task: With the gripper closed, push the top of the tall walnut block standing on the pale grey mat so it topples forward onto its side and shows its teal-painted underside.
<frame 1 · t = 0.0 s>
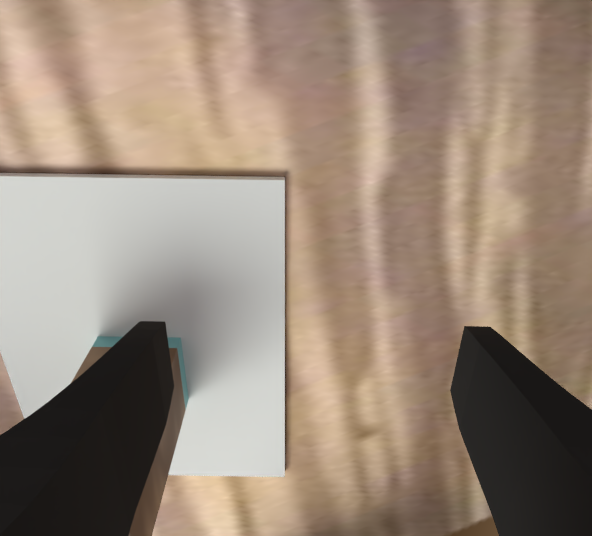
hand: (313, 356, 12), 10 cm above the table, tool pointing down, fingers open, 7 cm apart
walnut block: (145, 368, 25), resting on grey mat
grey mat: (144, 348, 25), on the table
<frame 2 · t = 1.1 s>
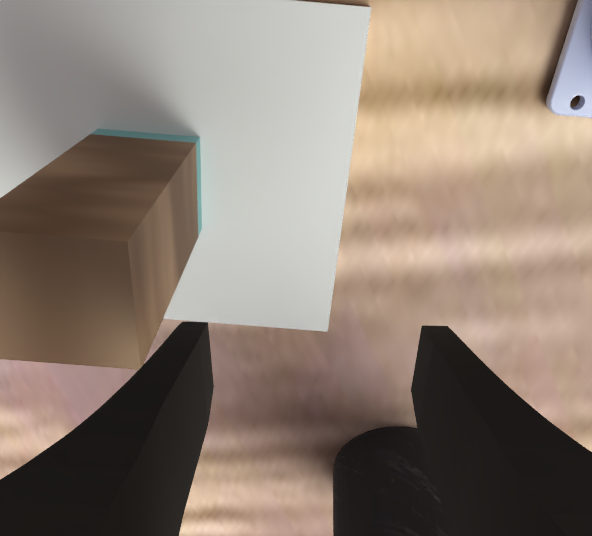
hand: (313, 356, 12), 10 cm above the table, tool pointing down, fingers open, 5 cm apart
walnut block: (152, 181, 21), resting on grey mat
grey mat: (131, 175, 21), on the table
travel mug: (392, 465, 30), on the table
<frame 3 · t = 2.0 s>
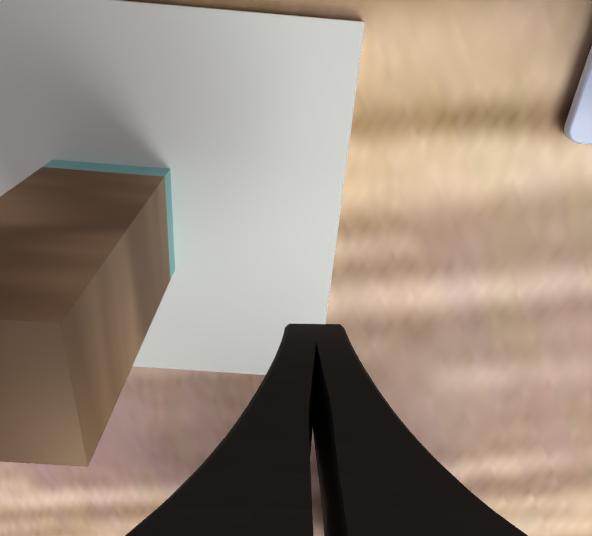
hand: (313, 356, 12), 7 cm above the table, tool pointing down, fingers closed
walnut block: (117, 217, 18), resting on grey mat
grey mat: (93, 211, 18), on the table
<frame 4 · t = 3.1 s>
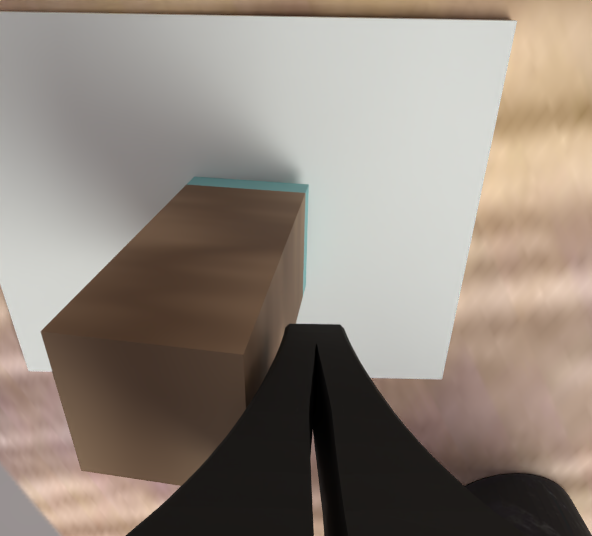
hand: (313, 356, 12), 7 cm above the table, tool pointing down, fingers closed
walnut block: (252, 233, 18), point 1 cm above the table, tilted 8°, touching grey mat
grey mat: (227, 224, 19), on the table
travel mug: (502, 512, 27), on the table
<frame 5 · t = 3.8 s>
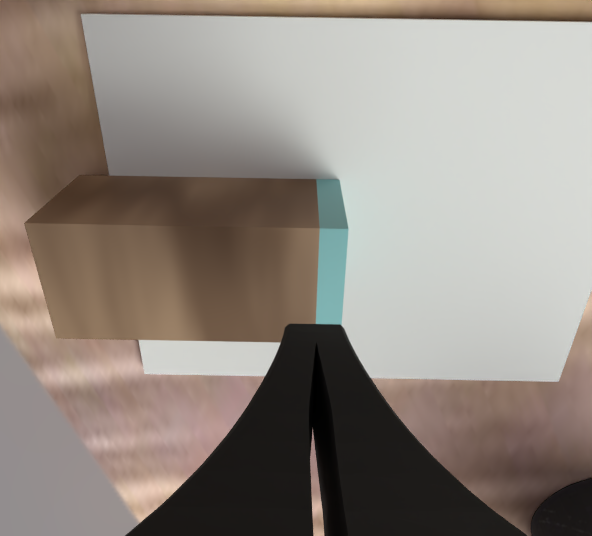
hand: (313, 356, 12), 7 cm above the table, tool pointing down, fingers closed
walnut block: (339, 257, 17), point 2 cm above the table, tilted 90°, touching grey mat
grey mat: (363, 227, 19), on the table
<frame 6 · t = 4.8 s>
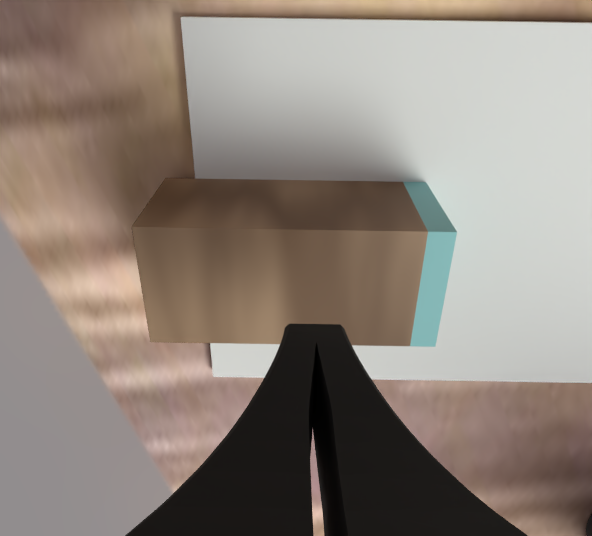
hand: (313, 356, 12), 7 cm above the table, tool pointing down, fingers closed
walnut block: (430, 260, 17), point 2 cm above the table, tilted 90°, touching grey mat
grey mat: (443, 230, 19), on the table
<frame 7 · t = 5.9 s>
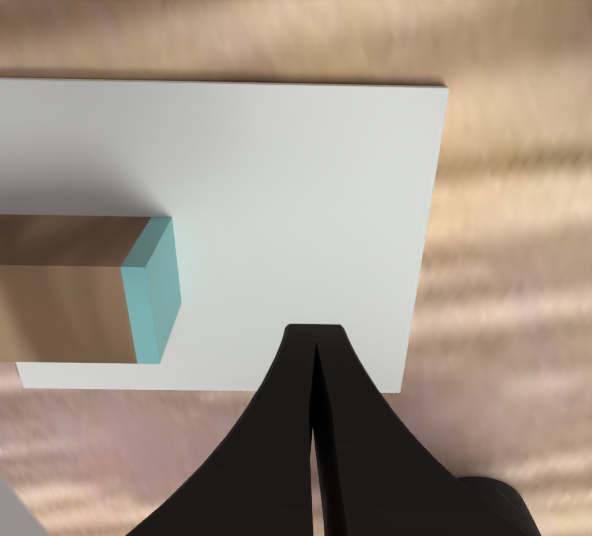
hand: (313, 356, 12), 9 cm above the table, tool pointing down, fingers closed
walnut block: (166, 287, 19), point 2 cm above the table, tilted 90°, touching grey mat
grey mat: (203, 257, 21), on the table
travel mug: (462, 513, 30), on the table
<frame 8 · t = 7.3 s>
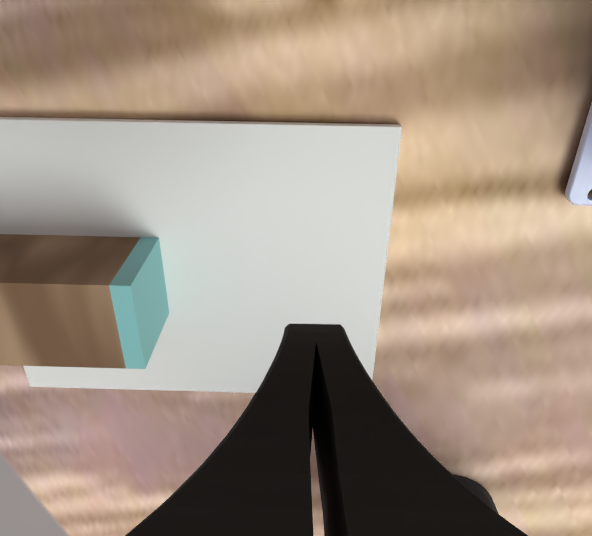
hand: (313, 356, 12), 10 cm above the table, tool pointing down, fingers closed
walnut block: (152, 301, 21), point 2 cm above the table, tilted 90°, touching grey mat
grey mat: (188, 272, 23), on the table
travel mug: (435, 508, 32), on the table
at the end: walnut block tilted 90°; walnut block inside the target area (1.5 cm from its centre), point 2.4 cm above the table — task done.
